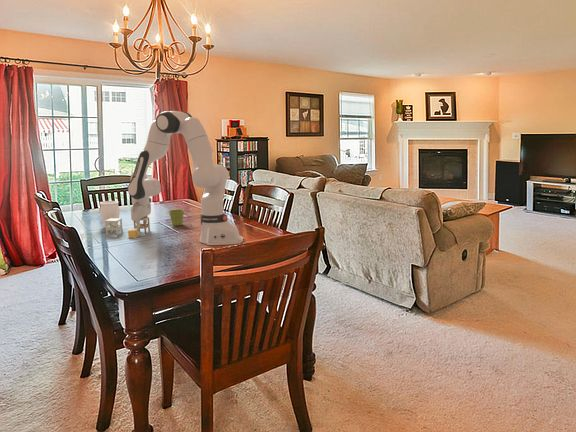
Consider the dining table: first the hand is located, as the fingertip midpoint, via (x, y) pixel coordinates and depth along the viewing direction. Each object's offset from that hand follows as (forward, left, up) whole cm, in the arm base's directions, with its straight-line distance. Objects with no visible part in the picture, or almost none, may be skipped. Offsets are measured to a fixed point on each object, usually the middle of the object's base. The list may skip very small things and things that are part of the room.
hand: (142, 225), depth 239 cm
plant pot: (-14, -20, -4) cm, 25 cm away
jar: (+24, -14, -4) cm, 28 cm away
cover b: (+14, +4, -4) cm, 15 cm away
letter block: (+1, +10, -4) cm, 11 cm away
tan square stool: (0, 0, -4) cm, 4 cm away
